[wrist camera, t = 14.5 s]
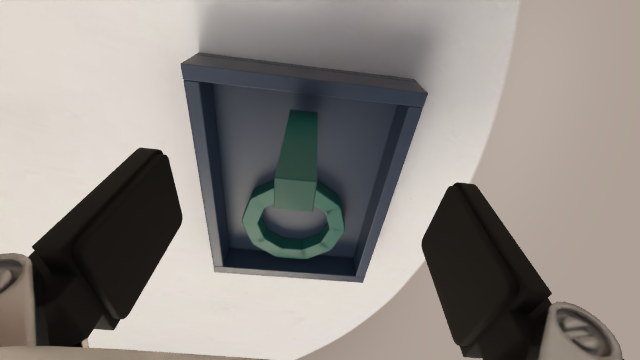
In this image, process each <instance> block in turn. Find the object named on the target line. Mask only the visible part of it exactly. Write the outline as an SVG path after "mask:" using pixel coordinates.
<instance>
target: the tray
mask: <svg viewBox="0 0 640 360" xmlns="http://www.w3.org/2000/svg"><path fill="white" fill-rule="evenodd" d="M181 69H182V75H183V79H184V86H185V92H186V98H187V104H188V110H189V117H190V123H191V129H192V135H193V141H194V147H195V154H196V160H197V166H198V172H199V178H200V184H201V191H202V197H203V203H204V209H205V215H206V221H207V227H208V234H209V240H210V246H211V252H212V258H213V264H214V272H220V273H234V274H248V275H262V276H277V277H291V278H305V279H319V280H333V281H347V282H361V283H363V280H364V278H365V274H366V272H367V269H368V266H369V263H370V260H371V257H372V254H373V251H374V248H375V245H376V242H377V240H378V237H379V234H380V231H381V228H382V225H383V222H384V219H385V216H386V213H387V211H388V208H389V205H390V202H391V199H392V196H393V193H394V190H395V187H396V184H397V182H398V179H399V176H400V173H401V170H402V167H403V164H404V161H405V158H406V155H407V152H408V150H409V147H410V144H411V141H412V138H413V135H414V132H415V129H416V126H417V123H418V121H419V118H420V115H421V112H422V109H423V108H422V107H423V106H424V103H425V100H426V97H427V95H428V93H427V92H426V91H425V90H424V89H423V88H422V87H421V86H420V85H419V84H418V83H417V81H416V80H414V79H406V78H398V77H390V76H382V75H374V74H365V73H357V72H349V71H341V70H333V69H325V68H317V67H309V66H301V65H293V64H284V63H276V62H268V61H260V60H252V59H244V58H236V57H228V56H220V55H211V54H203V53H198V54H196V55H194V56H193V57H191V58H189V59H188V60H186V61H184V62H183V63H181ZM290 109H293V110H301V111H310V112H318V152H317V181H319V182H320V183H321V184H323V185H324V186H325V187H327V188H328V189H329V190H331V191H332V192H333V193H335V194H336V195H337V196H339V198H340V201H341V206H342V211H343V216H344V221H345V232H344V233H343V234H342V236H341V237H340V239H339V240H338V241H337V243H336V244H335V246H334V247H333V248H332V249H331V250H330V251H327V252H325V253H322V254H319V255H317V256H314V257H311V258H308V259H294V258H281V257H275V256H273V255H271V254H270V253H268V252H266V251H264V250H263V249H261V248H259V247H257V246H255V245H254V244H253V243H252V242H251V240H250V238H249V236H248V234H247V232H246V230H245V228H244V226H243V224H242V221H241V220H242V217H243V214H244V211H245V209H246V206H247V204H248V201H249V199H250V196H251V194H252V191H253V190H254V189H255V188H257V187H259V186H261V185H263V184H265V183H267V182H269V181H271V180H273V179H274V178H275V173H276V169H277V165H278V160H279V156H280V152H281V147H282V143H283V139H284V134H285V130H286V125H287V121H288V117H289V112H290ZM261 216H262V219H263V221H264V223H265V225H266V228H268V229H269V230H271V231H273V232H274V233H276V234H278V235H279V236H281V237H283V238H292V239H305V238H307V237H310V236H312V235H315V234H318V233H320V232H321V231H322V229H323V228H324V226H325V225H326V223H327V222H328V221H327V217H326V213H325V212H323V211H322V210H321V209H319V208H318V207H316V206H315V205H314V208H313V212H312V213H311V212H299V211H288V210H276V209H274V204H272V205H270V206H268V207H266V208H264V211H263V213H262V215H261Z"/></svg>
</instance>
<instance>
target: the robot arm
mask: <svg viewBox="0 0 640 360" xmlns="http://www.w3.org/2000/svg"><path fill="white" fill-rule="evenodd" d="M181 223H182V212H181V208H180V204H179V200H178V195H177V191H176V187H175V183H174V179H173V175H172V171H171V167H170V163H169V159H168V157H167V155H163V153H162V151H161V150H157V149H148V148H139V149H137V150H136V151H135V152H134V153H133V154H132V155H131V156H129V157H128V158H127V159H126V160H125V161H124V162H123V163H122V164H121V165H120V166H119V167H118V168H116V169H115V170H114V171H113V172H112V173H111V174H110V175H109V176H108V177H107V178H106V179H105V180H103V181H102V182H101V183H100V184H99V185H98V186H97V187H96V188H95V189H94V190H93V191H92V192H90V193H89V194H88V195H87V196H86V197H85V198H84V199H83V200H82V201H81V202H80V203H79V204H77V205H76V206H75V207H74V208H73V209H72V210H71V211H70V212H69V213H68V214H67V215H66V216H65V217H63V218H62V219H61V220H60V221H59V222H58V223H57V224H56V225H55V226H54V227H53V228H52V229H50V230H49V231H48V232H47V233H46V234H45V235H44V236H43V237H42V238H41V239H40V240H39V241H37V242H36V243H35V244H34V245H33V246H32V248H33V249H34V250H35V251H34V252H33V253H32V254H31V255H30V256H29V257H26V256H25V255H22V254H16V253H9V254H0V360H268V359H254V358H240V357H225V356H211V355H196V354H181V353H167V352H152V351H137V350H121V349H101V348H89V345H88V339H87V338H88V337H89V335H90V334H91V332H92V331H93V329H104V330H114V329H115V328H116V326H117V324H118V323H119V321H120V319H124V318H126V317H127V316H128V314H129V313H130V311H131V310H132V308H133V306H134V304H135V303H136V301H137V299H138V298H139V296H140V294H141V292H142V291H143V289H144V287H145V286H146V284H147V282H148V280H149V279H150V277H151V275H152V274H153V272H154V270H155V268H156V267H157V265H158V263H159V261H160V260H161V258H162V256H163V255H164V253H165V251H166V249H167V248H168V246H169V244H170V243H171V241H172V239H173V237H174V236H175V234H176V232H177V231H178V229H179V227H180V225H181ZM422 250H423V253H424V256H425V259H426V262H427V265H428V267H429V270H430V273H431V276H432V279H433V282H434V285H435V288H436V291H437V294H438V296H439V299H440V302H441V305H442V308H443V311H444V314H445V317H446V319H447V323H448V326H449V329H450V331H451V334H452V337H453V340H454V342H455V343H456V344H457V345H459V346H460V348H461V351H462V354H463V357H471V358H483V360H624V359H622V352H621V348H620V345H619V343H618V341H617V340H616V338H615V336H614V335H613V334H612V332H611V331H610V330H609V329H608V328H607V327H606V326H605V325H604V324H603V323H602V322H601V321H600V320H599V319H597V318H596V317H595V316H593V315H592V314H591V313H589V312H587V311H586V310H584V309H582V308H580V307H578V306H576V305H574V304H570V303H566V302H556V303H554V304H551V302H550V301H549V299H548V297H549V296H550V295H551V294H552V293H551V291H550V290H549V289H548V287H547V286H546V284H545V283H544V281H543V280H542V279H541V277H540V276H539V274H538V273H537V272H536V270H535V269H534V267H533V266H532V264H531V263H530V261H529V260H528V259H527V257H526V256H525V254H524V253H523V252H522V250H521V249H520V247H519V246H518V244H517V243H516V242H515V240H514V239H513V237H512V236H511V234H510V233H509V231H508V230H507V229H506V227H505V226H504V225H503V223H502V222H501V220H500V219H499V217H498V216H497V214H496V213H495V212H494V210H493V209H492V207H491V206H490V204H489V203H488V202H487V200H486V199H485V197H484V196H483V194H482V193H481V192H480V190H479V189H478V187H477V186H476V185H474V184H467V183H455V184H454V185H453V186H450V187H448V189H447V191H446V193H445V195H444V197H443V199H442V201H441V203H440V205H439V207H438V209H437V211H436V213H435V215H434V217H433V219H432V221H431V223H430V225H429V227H428V229H427V231H426V233H425V235H424V237H423V239H422Z"/></svg>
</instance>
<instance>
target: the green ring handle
mask: <svg viewBox="0 0 640 360" xmlns="http://www.w3.org/2000/svg"><path fill="white" fill-rule="evenodd" d="M317 152H318V112H310V111H301V110H293V109H290V112H289V117H288V121H287V125H286V130H285V134H284V139H283V143H282V147H281V152H280V156H279V160H278V165H277V169H276V173H275V178H274V179H273V180H271V181H269V182H267V183H265V184H263V185H261V186H259V187H257V188H255V189H254V190H253V191H252V194H251V196H250V199H249V201H248V204H247V206H246V209H245V211H244V214H243V217H242V220H241V221H242V224H243V226H244V228H245V230H246V232H247V234H248V236H249V238H250V240H251V242H252V243H253V244H254V245H255V246H257V247H259V248H261V249H263V250H264V251H266V252H268V253H270V254H271V255H273V256H275V257H281V258H294V259H308V258H311V257H314V256H317V255H319V254H322V253H325V252H327V251H330V250H331V249H332V248H333V247H334V246H335V244H336V243H337V241H338V240H339V239H340V237H341V236H342V234H343V233H344V232H345V221H344V216H343V211H342V206H341V201H340V198H339V196H337V195H336V194H335V193H333V192H332V191H331V190H329V189H328V188H327V187H325V186H324V185H323V184H321V183H320V182H319V181H317ZM272 204H274V209H276V210H288V211H299V212H311V213H312V212H313V208H314V205H315V206H316V207H318V208H319V209H321V210H322V211H323V212H325V213H326V217H327V221H328V222H327V223H326V225H325V226H324V228H323V229H322V231H321V232H320V233H318V234H315V235H312V236H310V237H307V238H305V239H292V238H283V237H281V236H279V235H278V234H276V233H274V232H273V231H271V230H269V229H268V228H266V225H265V223H264V221H263V219H262V216H261V215H262V213H263V211H264V208H266V207H268V206H270V205H272Z"/></svg>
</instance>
